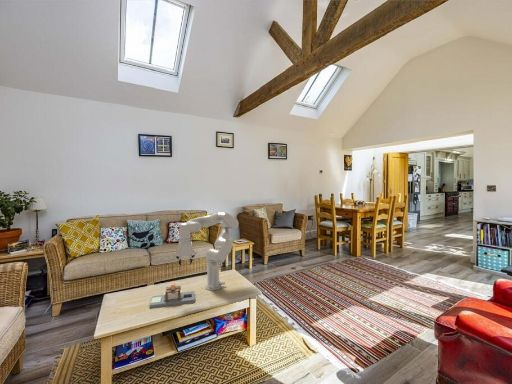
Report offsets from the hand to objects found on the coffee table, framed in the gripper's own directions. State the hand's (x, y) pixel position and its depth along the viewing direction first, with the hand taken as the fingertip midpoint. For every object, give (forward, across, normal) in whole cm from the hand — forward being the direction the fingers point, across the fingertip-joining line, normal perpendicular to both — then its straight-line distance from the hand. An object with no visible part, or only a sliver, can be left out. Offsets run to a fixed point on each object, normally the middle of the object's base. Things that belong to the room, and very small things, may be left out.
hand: (185, 264), depth 178 cm
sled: (+23, +9, 0) cm, 25 cm away
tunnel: (+24, +9, 0) cm, 25 cm away
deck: (+26, +9, 0) cm, 27 cm away
